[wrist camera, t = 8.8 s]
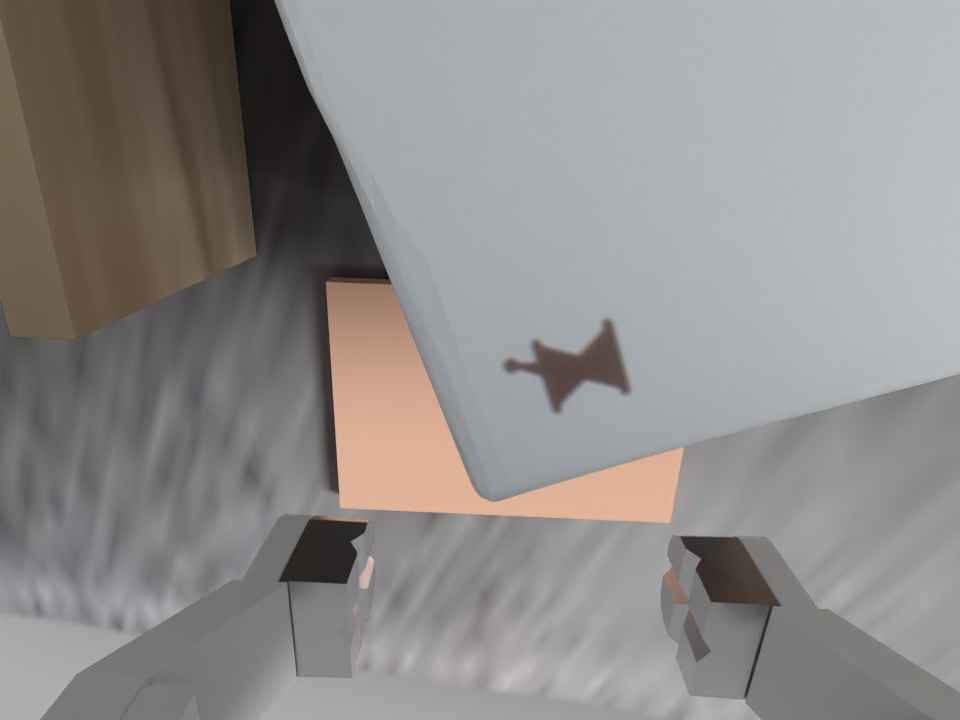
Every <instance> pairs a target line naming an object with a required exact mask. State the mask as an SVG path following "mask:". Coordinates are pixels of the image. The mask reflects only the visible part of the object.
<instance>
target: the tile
mask: <svg viewBox="0 0 960 720" xmlns="http://www.w3.org/2000/svg"><path fill="white" fill-rule="evenodd" d="M326 292H327V307H328V323H329V339H330V355H331V370H332V386H333V402H334V417H335V433H336V449H337V464H338V480H339V496H340V508H351V509H373V510H396V511H418V512H440V513H462V514H484V515H506V516H528V517H550V518H572V519H595V520H617V521H639V522H661V523H670V520H671V515H672V509H673V504H674V498H675V493H676V487H677V482H678V476H679V471H680V466H681V460H682V455H683V449H684V447H683V448H679V449H675V450H672V451H668V452H664V453H661V454H657V455H654V456H650V457H646V458H643V459H639V460H636V461H632V462H628V463H625V464H621V465H618V466H615V467H611V468H608V469H604V470H601V471H598V472H594V473H591V474H587V475H584V476H581V477H577V478H574V479H570V480H567V481H564V482H560V483H557V484H553V485H550V486H547V487H543V488H540V489H536V490H533V491H530V492H526V493H523V494H520V495H517V496H514V497H511V498H508V499H504V500H501V501H498V502H491V501H489V500H486V499H484V498H482V497H480V496H479V495H478V494H477V492H476V491H475V490H474V488H473V486H472V484H471V481H470V479H469V477H468V474H467V472H466V470H465V467H464V465H463V462H462V460H461V457H460V455H459V452H458V450H457V447H456V445H455V442H454V440H453V437H452V435H451V432H450V430H449V427H448V425H447V422H446V420H445V417H444V415H443V412H442V409H441V407H440V404H439V402H438V399H437V397H436V394H435V392H434V389H433V387H432V384H431V382H430V379H429V377H428V374H427V372H426V369H425V367H424V364H423V362H422V359H421V357H420V354H419V352H418V349H417V347H416V344H415V342H414V339H413V337H412V334H411V332H410V329H409V327H408V324H407V322H406V319H405V317H404V314H403V312H402V309H401V307H400V304H399V302H398V299H397V296H396V294H395V291H394V289H393V286H392V284H391V281H390V279H371V278H346V277H331V278H330V279H329V280H328V281H326Z"/></svg>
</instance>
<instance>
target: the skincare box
mask: <svg viewBox="0 0 960 720" xmlns="http://www.w3.org/2000/svg"><path fill="white" fill-rule="evenodd" d="M275 3H276V6H277V9H278V11H279V14H280V17H281V19H282V22H283V25H284V28H285V30H286V33H287V36H288V38H289V41H290V43H291V46H292V48H293V51H294V54H295V56H296V59H297V61H298V64H299V66H300V69H301V71H302V74H303V76H304V79H305V82H306V84H307V87H308V89H309V91H310V93H311V95H312V97H313V99H314V101H315V103H316V104H317V106H318V108H319V110H320V112H321V114H322V116H323V118H324V120H325V122H326V124H327V126H328V128H329V130H330V132H331V134H332V136H333V138H334V140H335V143H336V145H337V147H338V150H339V152H340V155H341V157H342V160H343V162H344V165H345V167H346V170H347V172H348V175H349V177H350V180H351V182H352V185H353V187H354V190H355V192H356V194H357V197H358V199H359V202H360V204H361V207H362V209H363V212H364V215H365V217H366V220H367V222H368V225H369V227H370V230H371V232H372V235H373V238H374V240H375V243H376V245H377V248H378V250H379V253H380V255H381V258H382V261H383V263H384V266H385V268H386V271H387V273H388V276H389V279H390V281H391V284H392V286H393V289H394V291H395V294H396V296H397V299H398V302H399V304H400V307H401V309H402V312H403V314H404V317H405V319H406V322H407V324H408V327H409V329H410V332H411V334H412V337H413V339H414V342H415V344H416V347H417V349H418V352H419V354H420V357H421V359H422V362H423V364H424V367H425V369H426V372H427V374H428V377H429V379H430V382H431V384H432V387H433V389H434V392H435V394H436V397H437V399H438V402H439V404H440V407H441V409H442V412H443V415H444V417H445V420H446V422H447V425H448V427H449V430H450V432H451V435H452V437H453V440H454V442H455V445H456V447H457V450H458V452H459V455H460V457H461V460H462V462H463V465H464V467H465V470H466V472H467V474H468V477H469V479H470V481H471V484H472V486H473V488H474V490H475V491H476V492H477V494H478V495H479V496H480V497H482V498H484V499H486V500H489V501H491V502H498V501H501V500H504V499H508V498H511V497H514V496H517V495H520V494H523V493H526V492H530V491H533V490H536V489H540V488H543V487H547V486H550V485H553V484H557V483H560V482H564V481H567V480H570V479H574V478H577V477H581V476H584V475H587V474H591V473H594V472H598V471H601V470H604V469H608V468H611V467H615V466H618V465H621V464H625V463H628V462H632V461H636V460H639V459H643V458H646V457H650V456H654V455H657V454H661V453H664V452H668V451H672V450H675V449H679V448H683V447H686V446H690V445H694V444H697V443H701V442H705V441H708V440H712V439H716V438H719V437H723V436H727V435H730V434H734V433H738V432H742V431H745V430H749V429H753V428H756V427H760V426H764V425H768V424H772V423H776V422H780V421H784V420H788V419H791V418H795V417H799V416H803V415H807V414H811V413H815V412H819V411H823V410H826V409H830V408H834V407H838V406H841V405H845V404H849V403H852V402H856V401H859V400H863V399H867V398H870V397H874V396H878V395H881V394H885V393H889V392H893V391H897V390H901V389H905V388H909V387H912V386H916V385H920V384H924V383H928V382H932V381H935V380H939V379H943V378H947V377H950V376H954V375H958V374H960V0H275Z"/></svg>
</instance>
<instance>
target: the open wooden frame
mask: <svg viewBox="0 0 960 720" xmlns="http://www.w3.org/2000/svg"><path fill="white" fill-rule="evenodd" d="M255 256H257V254H256V245H255V235H254V226H253V216H252V207H251V197H250V188H249V179H248V169H247V160H246V150H245V141H244V131H243V122H242V113H241V103H240V94H239V84H238V75H237V65H236V56H235V47H234V37H233V28H232V18H231V9H230V0H0V300H1V304H2V308H3V311H4V315H5V319H6V322H7V326H8V330H9V333H10V337H27V338H51V339H77V338H80V337H82V336H84V335H86V334H88V333H90V332H93V331H95V330H97V329H99V328H101V327H103V326H106V325H108V324H110V323H112V322H114V321H116V320H119V319H121V318H123V317H125V316H127V315H129V314H131V313H134V312H136V311H138V310H140V309H142V308H144V307H147V306H149V305H151V304H153V303H155V302H157V301H160V300H162V299H164V298H166V297H168V296H170V295H173V294H175V293H177V292H179V291H181V290H183V289H186V288H188V287H190V286H192V285H194V284H196V283H199V282H201V281H203V280H205V279H207V278H209V277H211V276H214V275H216V274H218V273H220V272H222V271H224V270H227V269H229V268H231V267H233V266H235V265H237V264H240V263H242V262H244V261H246V260H248V259H250V258H253V257H255Z"/></svg>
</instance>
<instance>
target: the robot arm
mask: <svg viewBox="0 0 960 720" xmlns="http://www.w3.org/2000/svg"><path fill="white" fill-rule="evenodd" d="M373 542H374V532H373V523H372V521H371V520H370V519H356V518H342V517H328V516H311V515H293V514H284V515H282V516H281V517H279V518H278V520H277V521H276V523H275V525H274V527H273V528H272V530H271V532H270V533H269V535H268V537H267V538H266V540H265V542H264V543H263V545H262V547H261V549H260V550H259V552H258V554H257V555H256V557H255V559H254V560H253V562H252V564H251V566H250V567H249V569H248V571H247V572H246V574H245V576H244V577H243V579H242V580H232V581H230V582H228V583H227V584H225V585H223V586H222V587H220V588H218V589H217V590H215V591H214V592H212V593H210V594H209V595H207V596H205V597H204V598H202V599H200V600H199V601H197V602H195V603H194V604H192V605H190V606H189V607H187V608H185V609H184V610H182V611H180V612H179V613H177V614H175V615H174V616H172V617H171V618H169V619H167V620H166V621H164V622H162V623H161V624H159V625H157V626H156V627H154V628H152V629H151V630H149V631H147V632H146V633H144V634H142V635H141V636H139V637H137V638H136V639H134V640H133V641H131V642H129V643H128V644H126V645H124V646H123V647H121V648H119V649H118V650H116V651H115V652H113V653H111V654H109V655H108V656H106V657H104V658H103V659H101V660H99V661H98V662H96V663H94V664H93V665H91V666H90V667H88V668H87V669H85V670H83V671H81V672H80V673H78V674H76V676H75V677H74V678H73V679H72V681H71V682H70V683H69V684H68V686H67V687H66V688H65V689H64V691H63V692H62V693H61V694H60V696H59V697H58V698H57V700H56V701H55V702H54V703H53V705H52V706H51V707H50V708H49V710H48V711H47V712H46V713H45V714H44V716H43V717H42V718H41V720H258V719H259V718H260V717H261V716H262V715H263V714H264V713H265V712H266V711H267V710H268V709H269V708H270V707H271V706H272V705H273V704H274V703H275V702H276V701H277V700H278V699H279V698H280V697H281V696H282V695H283V694H284V693H285V692H286V691H287V690H288V689H289V688H290V687H291V686H292V685H293V684H294V683H295V682H296V681H297V677H336V678H337V677H338V678H352V677H353V673H354V669H355V666H356V662H357V659H358V655H359V651H360V648H361V644H362V628H361V625H363V624H364V623H365V622H366V621H367V620H368V618H369V614H370V610H371V606H372V600H373V593H374V585H375V561H374V560H373V559H372V558H371V557H370V552H371V549H372V545H373ZM667 555H668V557H669V560H670V562H671V565H672V568H671V569H670V570H669V571H668V572H667V573H666V574H665V575H664V576H663V581H662V587H661V610H662V615H663V620H664V624H665V627H666V630H667V633H668V635H669V636H670V637H671V638H672V639H673V640H675V641H676V642H677V643H678V644H679V647H678V652H677V657H676V659H677V662H678V664H679V667H680V670H681V673H682V676H683V678H684V681H685V684H686V687H687V689H688V692H689V695H692V696H704V697H717V698H729V699H742V700H746V702H745V703H746V704H747V705H748V706H749V707H750V708H751V709H752V710H753V711H754V712H755V713H756V714H757V715H758V716H759V717H760V718H761V719H762V720H960V692H958V691H957V690H955V689H953V688H952V687H950V686H949V685H947V684H946V683H944V682H942V681H941V680H939V679H938V678H936V677H934V676H933V675H931V674H930V673H928V672H927V671H925V670H923V669H922V668H920V667H919V666H917V665H915V664H914V663H912V662H911V661H909V660H908V659H906V658H904V657H903V656H901V655H900V654H898V653H896V652H895V651H893V650H892V649H890V648H889V647H887V646H885V645H884V644H882V643H881V642H879V641H877V640H876V639H874V638H873V637H871V636H870V635H868V634H866V633H865V632H863V631H862V630H860V629H859V628H857V627H855V626H854V625H852V624H851V623H849V622H847V621H846V620H844V619H843V618H841V617H840V616H838V615H836V614H835V613H833V612H832V611H830V610H828V609H818V608H817V606H816V605H815V603H814V602H813V601H812V599H811V598H810V596H809V595H808V593H807V592H806V591H805V589H804V588H803V586H802V585H801V583H800V582H799V581H798V579H797V578H796V576H795V575H794V574H793V572H792V571H791V569H790V568H789V566H788V565H787V564H786V562H785V561H784V559H783V558H782V557H781V555H780V554H779V552H778V551H777V549H776V548H775V547H774V545H773V544H772V542H771V541H770V540H768V539H767V538H765V537H750V536H734V537H716V536H693V535H673V537H672V539H671V541H670V544H669V549H668V554H667Z"/></svg>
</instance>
